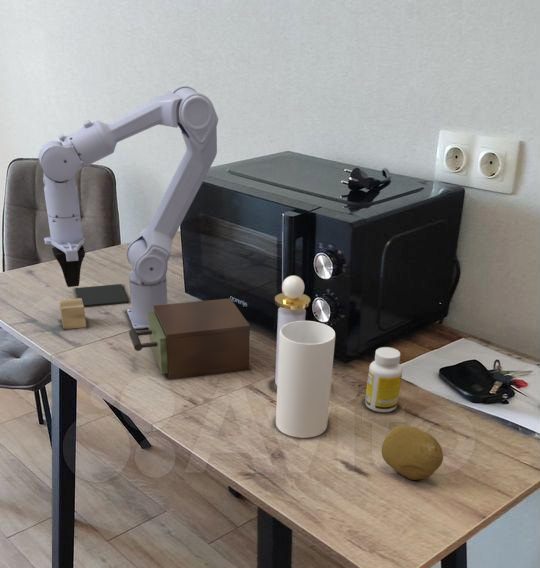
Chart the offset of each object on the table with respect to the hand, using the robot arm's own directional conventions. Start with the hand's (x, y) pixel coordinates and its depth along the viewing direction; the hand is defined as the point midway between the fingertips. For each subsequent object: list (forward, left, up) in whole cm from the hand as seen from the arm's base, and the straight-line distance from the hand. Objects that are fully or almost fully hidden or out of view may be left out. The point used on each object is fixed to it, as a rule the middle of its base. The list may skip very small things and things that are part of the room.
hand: (72, 285), depth 134 cm
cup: (+45, +30, -9) cm, 55 cm away
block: (-2, -1, -9) cm, 9 cm away
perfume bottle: (+33, +32, -9) cm, 47 cm away
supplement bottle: (+43, +45, -9) cm, 63 cm away
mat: (-15, +6, -9) cm, 19 cm away
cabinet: (+19, +20, -9) cm, 29 cm away
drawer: (+19, +17, -8) cm, 26 cm away
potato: (+62, +40, -9) cm, 74 cm away
